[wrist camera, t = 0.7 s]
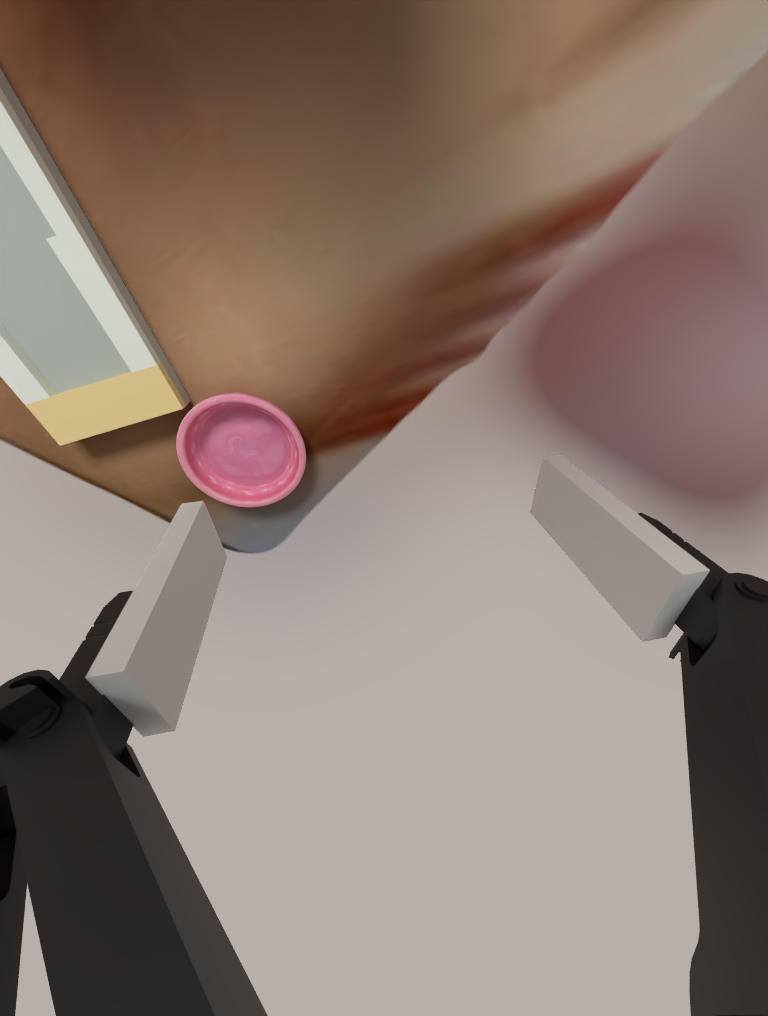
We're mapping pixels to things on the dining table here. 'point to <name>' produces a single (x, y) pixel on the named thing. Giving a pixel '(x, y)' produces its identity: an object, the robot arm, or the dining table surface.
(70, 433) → the keyhole board
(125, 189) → the dining table surface
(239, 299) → the dining table surface
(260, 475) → the saucer
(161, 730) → the robot arm
